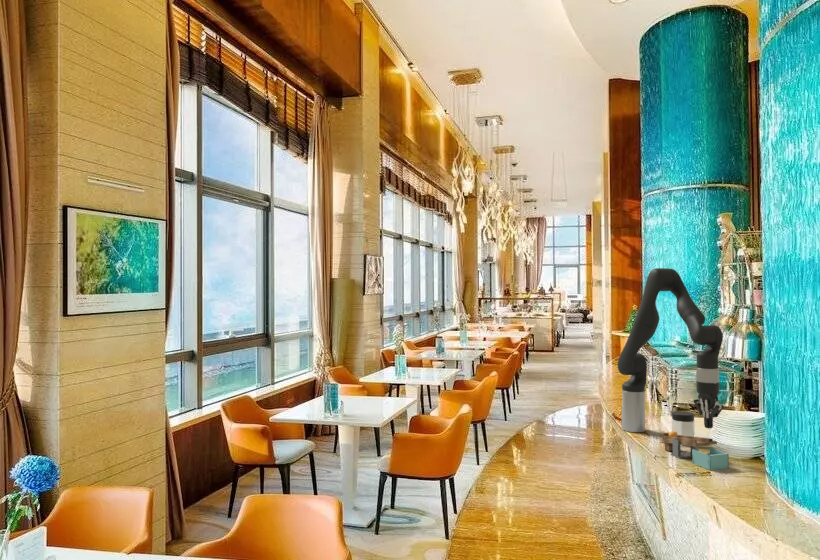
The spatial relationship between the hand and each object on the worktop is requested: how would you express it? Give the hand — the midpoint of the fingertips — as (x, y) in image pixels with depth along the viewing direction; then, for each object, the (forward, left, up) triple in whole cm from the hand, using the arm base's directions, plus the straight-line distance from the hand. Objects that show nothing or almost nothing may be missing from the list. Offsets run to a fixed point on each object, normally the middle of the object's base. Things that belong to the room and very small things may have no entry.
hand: (708, 427), depth 224 cm
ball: (-13, -5, -5) cm, 15 cm away
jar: (-21, +6, -12) cm, 25 cm away
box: (+6, -5, -11) cm, 14 cm away
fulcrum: (-6, -5, -11) cm, 14 cm away
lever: (-6, -3, -10) cm, 12 cm away
